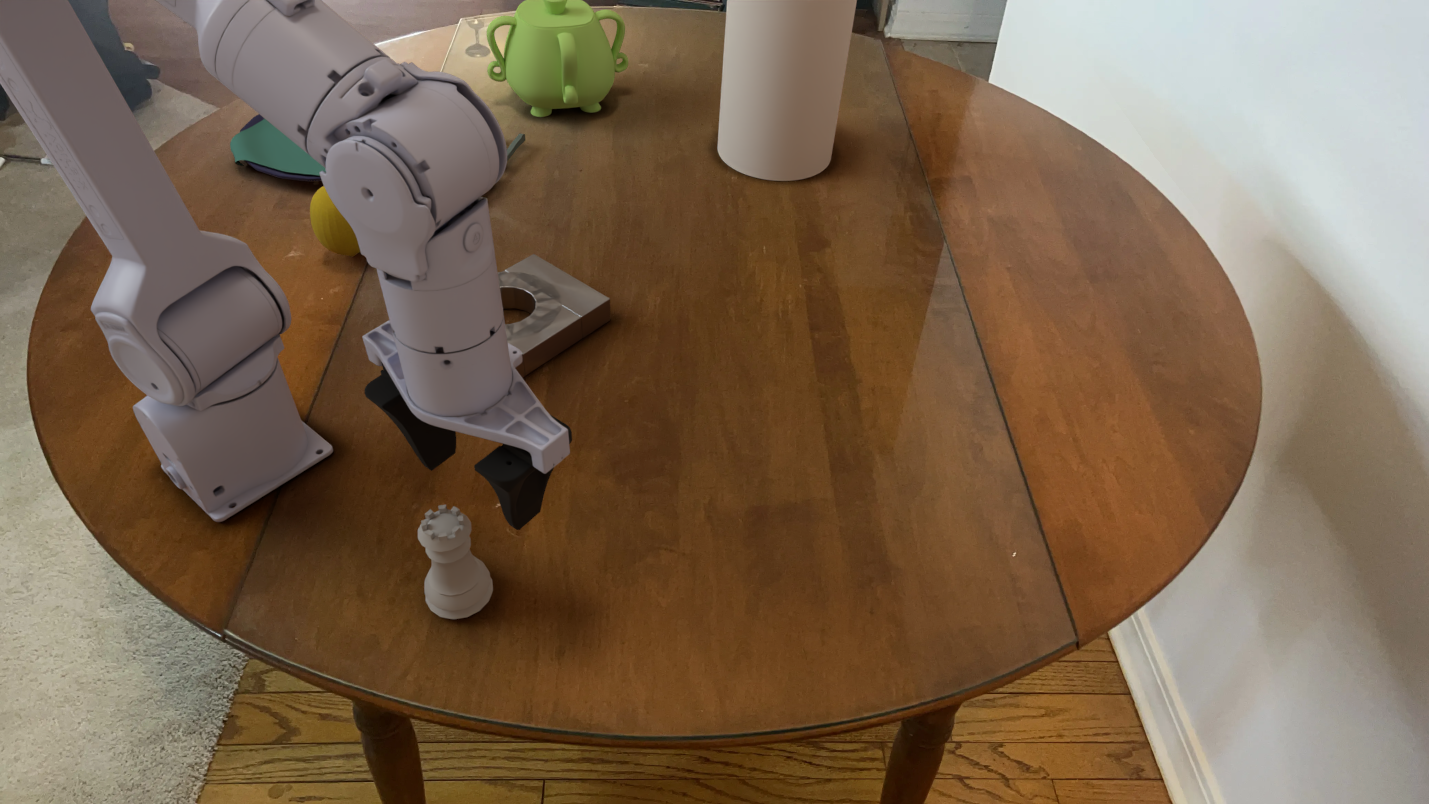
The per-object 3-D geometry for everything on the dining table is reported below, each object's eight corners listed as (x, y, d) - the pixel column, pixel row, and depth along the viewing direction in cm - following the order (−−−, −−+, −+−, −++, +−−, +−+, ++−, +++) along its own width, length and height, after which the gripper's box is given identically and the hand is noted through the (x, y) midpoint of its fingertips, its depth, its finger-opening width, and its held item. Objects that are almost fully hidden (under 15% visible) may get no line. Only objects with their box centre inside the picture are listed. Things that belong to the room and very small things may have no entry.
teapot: (469, 98, 112) (454, -7, 103) (545, 60, 121) (537, -39, 112) (569, 138, 106) (562, 31, 97) (642, 96, 115) (641, -6, 106)
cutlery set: (309, 95, 110) (304, 77, 108) (538, 139, 106) (536, 121, 104) (201, 174, 96) (193, 154, 95) (459, 228, 92) (456, 209, 90)
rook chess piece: (498, 567, 63) (484, 492, 57) (489, 623, 59) (473, 550, 54) (432, 566, 62) (412, 492, 57) (420, 623, 59) (397, 549, 54)
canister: (827, 187, 102) (856, 6, 88) (708, 171, 103) (719, -10, 89) (834, 131, 111) (862, -40, 97) (726, 117, 112) (738, -54, 98)
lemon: (365, 276, 85) (346, 203, 80) (311, 266, 86) (288, 193, 80) (392, 244, 89) (375, 172, 84) (339, 235, 90) (320, 163, 84)
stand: (492, 398, 75) (488, 375, 73) (409, 339, 79) (404, 317, 77) (610, 320, 83) (610, 298, 81) (529, 271, 87) (526, 249, 86)
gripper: (603, 337, 47) (611, 505, 56) (415, 235, 53) (451, 402, 62) (503, 411, 42) (530, 579, 52) (311, 291, 48) (366, 462, 58)
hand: (481, 488), depth 57 cm, fingers open, 7 cm apart
